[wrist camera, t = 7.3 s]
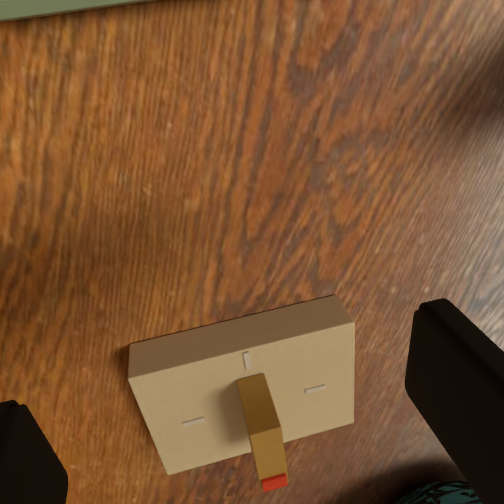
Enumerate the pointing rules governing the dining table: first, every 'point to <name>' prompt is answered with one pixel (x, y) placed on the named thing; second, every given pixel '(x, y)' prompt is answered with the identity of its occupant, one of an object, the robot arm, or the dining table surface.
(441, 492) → the decorative sphere
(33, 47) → the dining table surface
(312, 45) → the dining table surface
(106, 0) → the button block
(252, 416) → the lock knob
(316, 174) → the dining table surface
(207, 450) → the lock plate
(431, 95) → the dining table surface
